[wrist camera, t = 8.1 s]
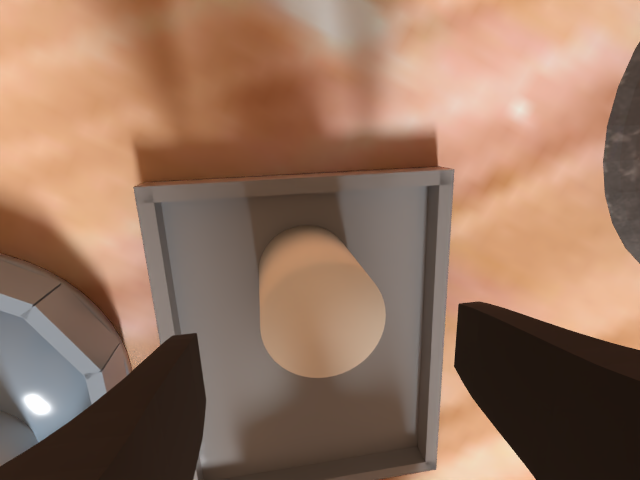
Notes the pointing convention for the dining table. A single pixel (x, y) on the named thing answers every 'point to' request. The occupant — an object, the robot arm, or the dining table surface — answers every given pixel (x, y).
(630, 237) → the tankard
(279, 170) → the dining table surface
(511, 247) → the dining table surface
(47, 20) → the dining table surface
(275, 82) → the dining table surface
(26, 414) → the bowl
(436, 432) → the parts tray
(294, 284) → the beige rounded cylinder
